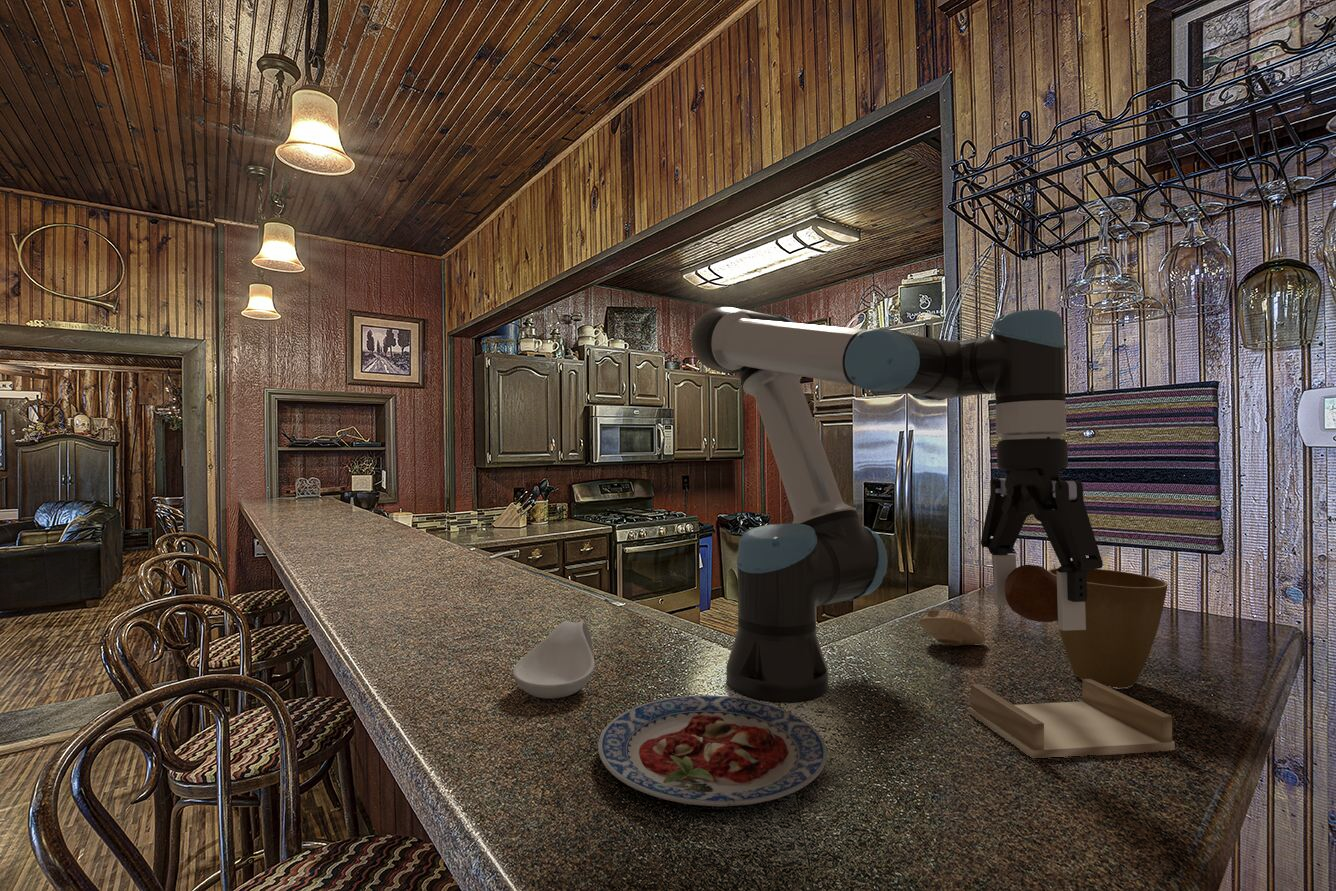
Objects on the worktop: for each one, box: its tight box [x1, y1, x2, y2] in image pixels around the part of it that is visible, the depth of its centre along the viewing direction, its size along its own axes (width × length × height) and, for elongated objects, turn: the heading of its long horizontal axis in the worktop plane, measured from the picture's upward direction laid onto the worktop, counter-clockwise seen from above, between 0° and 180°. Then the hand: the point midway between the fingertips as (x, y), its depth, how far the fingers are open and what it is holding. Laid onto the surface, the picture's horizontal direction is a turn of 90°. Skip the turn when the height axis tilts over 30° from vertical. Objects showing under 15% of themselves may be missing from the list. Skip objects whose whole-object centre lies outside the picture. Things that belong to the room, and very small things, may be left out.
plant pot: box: [1047, 567, 1169, 687], centre depth 94 cm, size 15×15×16 cm
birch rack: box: [968, 679, 1176, 758], centre depth 77 cm, size 18×12×4 cm, turn 97°
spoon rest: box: [512, 620, 596, 700], centre depth 96 cm, size 24×12×7 cm, turn 177°
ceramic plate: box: [597, 694, 828, 807], centre depth 71 cm, size 26×26×3 cm
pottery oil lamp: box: [918, 609, 987, 647], centre depth 110 cm, size 9×12×7 cm
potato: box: [1005, 564, 1058, 623], centre depth 76 cm, size 6×12×6 cm, turn 179°
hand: (1036, 616), depth 76 cm, fingers closed on potato, 11 cm apart
